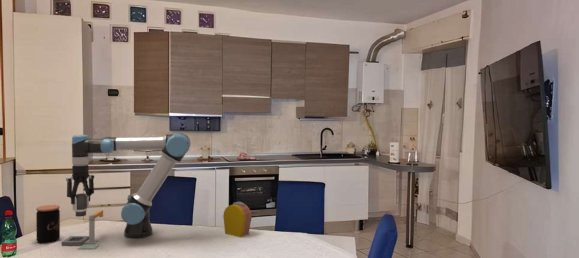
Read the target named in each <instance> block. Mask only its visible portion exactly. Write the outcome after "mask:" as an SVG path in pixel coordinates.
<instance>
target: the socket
mask: <svg viewBox="0 0 579 258" xmlns="http://www.w3.org/2000/svg"><path fill="white" fill-rule="evenodd" d="M95 222H96V220H88V228H89V229H88V235H70V236H69V237H67V238H66V239H64V240H62V241H61V247H80V246H82V245H83V244H97V243H98V241H99V240H98V239H95V235H96V233H95V231H96V229H95V228H96V227H95V226H96V225H95V224H96V223H95Z"/></svg>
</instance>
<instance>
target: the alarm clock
mask: <svg viewBox="0 0 579 258" xmlns="http://www.w3.org/2000/svg"><path fill="white" fill-rule="evenodd" d="M222 217H223V225H224V227H223V228H224V233H225V235H229V236H233V237H237V238H242V237H246V236H248V235H249V234H250V229H251V228H250V227H251V222H252V217H253V216H252V211H251V209H250V208H249V207H248V205H246V203H244V202H241V201H236V202H235V201H234V202H233V203H232V204H231V205H228V206H227V207H225V209H224V211H223V215H222Z"/></svg>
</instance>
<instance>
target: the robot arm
mask: <svg viewBox="0 0 579 258" xmlns="http://www.w3.org/2000/svg"><path fill="white" fill-rule="evenodd" d="M190 146H191V140H190V138H189V136H188V135H186V134H184V133H181V132H178V133H173V134H172V133H171V134H165V135H163V136H162V135H161V136H116V137H115V136H104V137H103V138H89V135H87V134H77V135H76V134H75V135H73V136H72V137H71V163H72V166H71V172H72V175H71V176H70V177H66V178H65V181H66V197H67V198H70V204H71V205H72V211H74V212H75V211H77V198H76V194H77V192H78V188H79V185H80V184H82V186H83V189H84V192H85V194H86V208H87V209H89V208H90V202H91V196H92V195H93V194H94V193H95V185H94V180H95V179H94V178H95V175H93V174H90V173H89V171H90V169H89V160H90V159H89V154H111V153H113V152H116V151H118V152H119V151H156V150H157V151H158V150H159V151H160V152H161V156H160V157H159V159H158V160H157V162H156V163H155V165H154V166H153V168H152V169H151V170H150V173H149V174H148V175H147V177H146V178H145V180H144V182H143V183H142V185H141V186H140V187H139V189H138V191H137V192H135V193H132V194H128V196H127V202H126V204H125V205H124V206H123V207H122V209H121V211H120V212H121V213H120V214H121V215H120V217H121V219H122V221H123V222H125V223H126V224H125V225H126V226H125V228H124V231H123V236H124V237H125V238H127V239H128V238H129V239H139V238H140V239H141V238H146V237H149V236H151V235H153V232H154V231H153V230H154V229H153V226H152V223H151V221H150V209H151V208H152V205H153V203H152V200H153V199H154V197H155V195H156V194H157V193H158V192H159V190H160V188H161V187H162V185H163V183H164V182H165V181H166V179H167V177H168V176H169V175H170V174H171V172H172V170H173V168H174V167H175V165H176V164H177V163H178V164H179V163H181V162H182V160H183V158H184V157H185V155H186V154H187V153H188V151H189V150H190Z"/></svg>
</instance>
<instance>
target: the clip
mask: <svg viewBox="0 0 579 258" xmlns="http://www.w3.org/2000/svg"><path fill="white" fill-rule="evenodd" d="M102 217H104V210H103V209H100V210H98V211H96V212H95V213H93V214H92V215H89V216H88V221H90V220H95V219H97V218H102ZM95 221H96V220H95Z"/></svg>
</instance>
